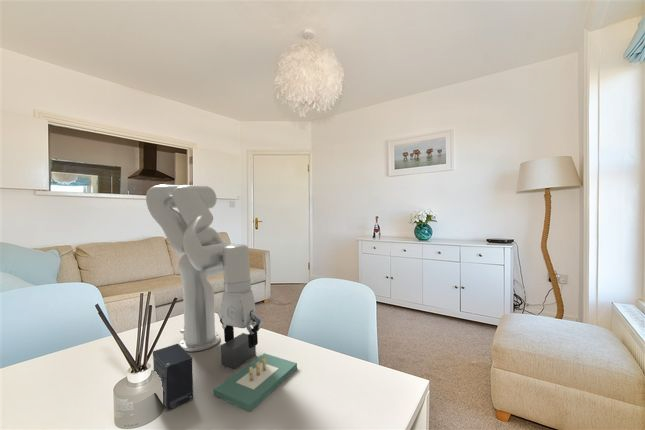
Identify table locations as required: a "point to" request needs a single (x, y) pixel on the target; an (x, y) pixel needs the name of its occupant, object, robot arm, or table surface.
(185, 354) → the small box
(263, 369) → the header pins
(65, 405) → the table surface
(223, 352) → the block
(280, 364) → the board
